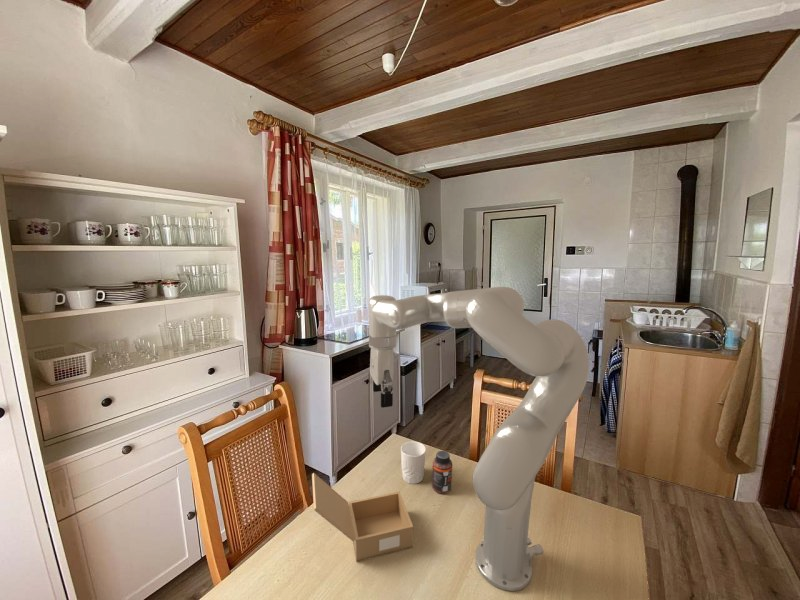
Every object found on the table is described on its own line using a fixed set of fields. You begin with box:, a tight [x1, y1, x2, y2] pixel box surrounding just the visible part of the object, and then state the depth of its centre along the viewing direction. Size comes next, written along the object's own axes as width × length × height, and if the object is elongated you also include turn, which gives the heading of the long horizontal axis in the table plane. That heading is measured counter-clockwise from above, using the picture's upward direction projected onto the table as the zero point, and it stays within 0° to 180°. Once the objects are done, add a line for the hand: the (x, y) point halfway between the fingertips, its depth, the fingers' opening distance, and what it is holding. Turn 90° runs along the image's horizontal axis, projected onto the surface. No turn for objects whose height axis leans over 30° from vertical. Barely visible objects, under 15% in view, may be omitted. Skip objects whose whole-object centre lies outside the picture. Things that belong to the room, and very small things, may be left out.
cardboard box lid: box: [311, 472, 355, 543], centre depth 82 cm, size 14×12×1 cm
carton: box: [348, 491, 414, 563], centre depth 87 cm, size 14×12×6 cm
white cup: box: [400, 440, 427, 485], centre depth 108 cm, size 8×8×10 cm
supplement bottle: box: [431, 450, 453, 495], centre depth 103 cm, size 6×6×11 cm
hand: (382, 398), depth 96 cm, fingers open, 9 cm apart
